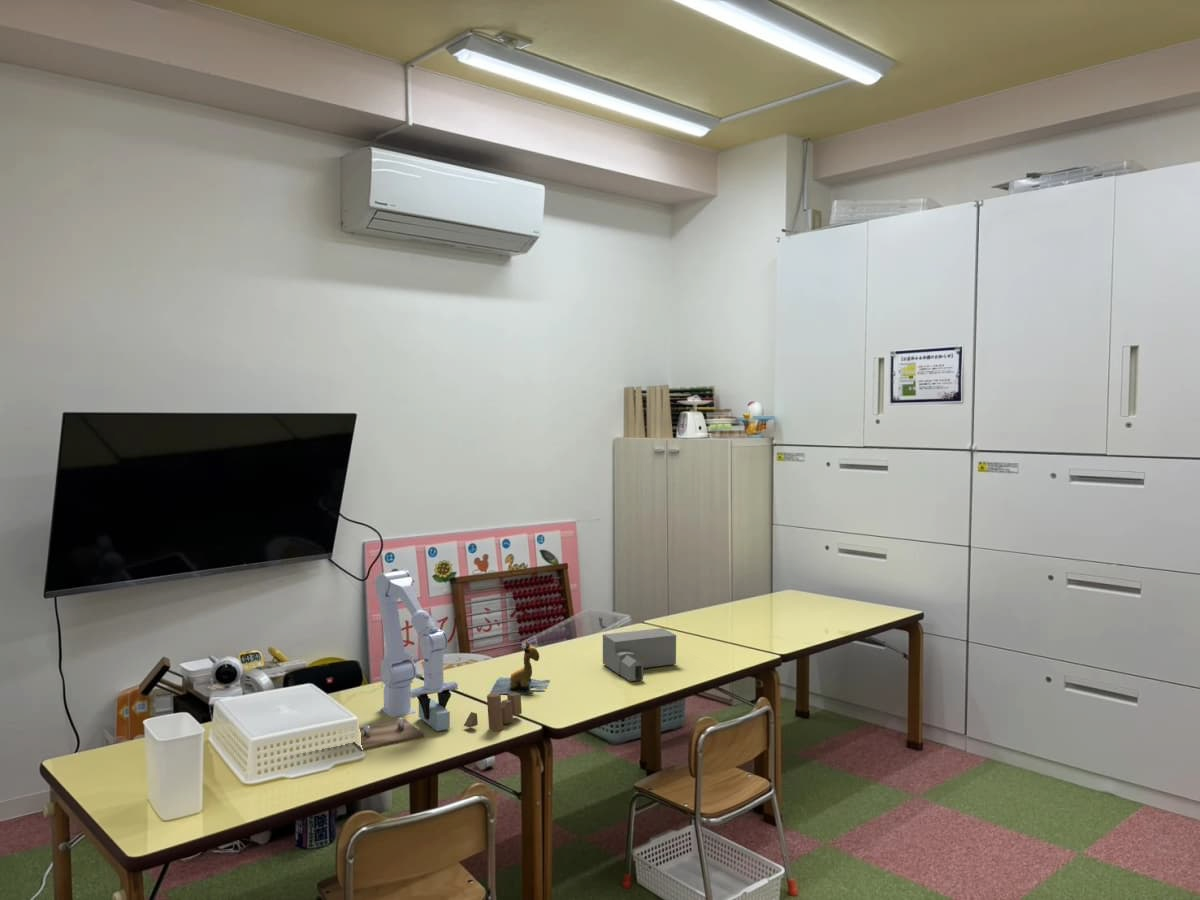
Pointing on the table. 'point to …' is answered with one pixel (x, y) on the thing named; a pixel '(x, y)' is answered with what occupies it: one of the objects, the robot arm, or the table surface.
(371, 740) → the peg plate
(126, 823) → the table surface
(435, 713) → the blue-grey rectangular block
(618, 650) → the gray box with nozzle
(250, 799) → the table surface
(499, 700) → the wooden block set
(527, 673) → the stuffed giraffe
